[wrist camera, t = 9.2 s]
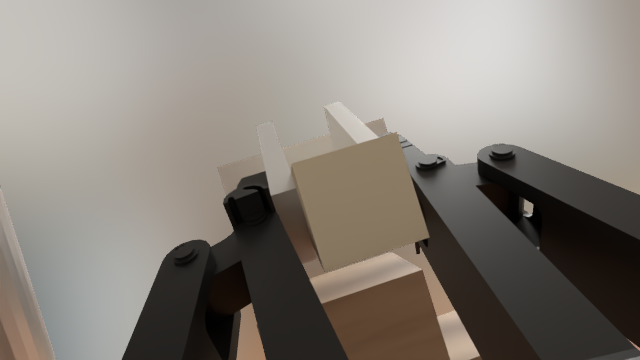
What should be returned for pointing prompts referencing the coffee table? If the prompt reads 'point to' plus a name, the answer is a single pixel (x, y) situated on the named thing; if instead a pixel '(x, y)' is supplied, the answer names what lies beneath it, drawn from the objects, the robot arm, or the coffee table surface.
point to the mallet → (348, 195)
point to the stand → (390, 313)
